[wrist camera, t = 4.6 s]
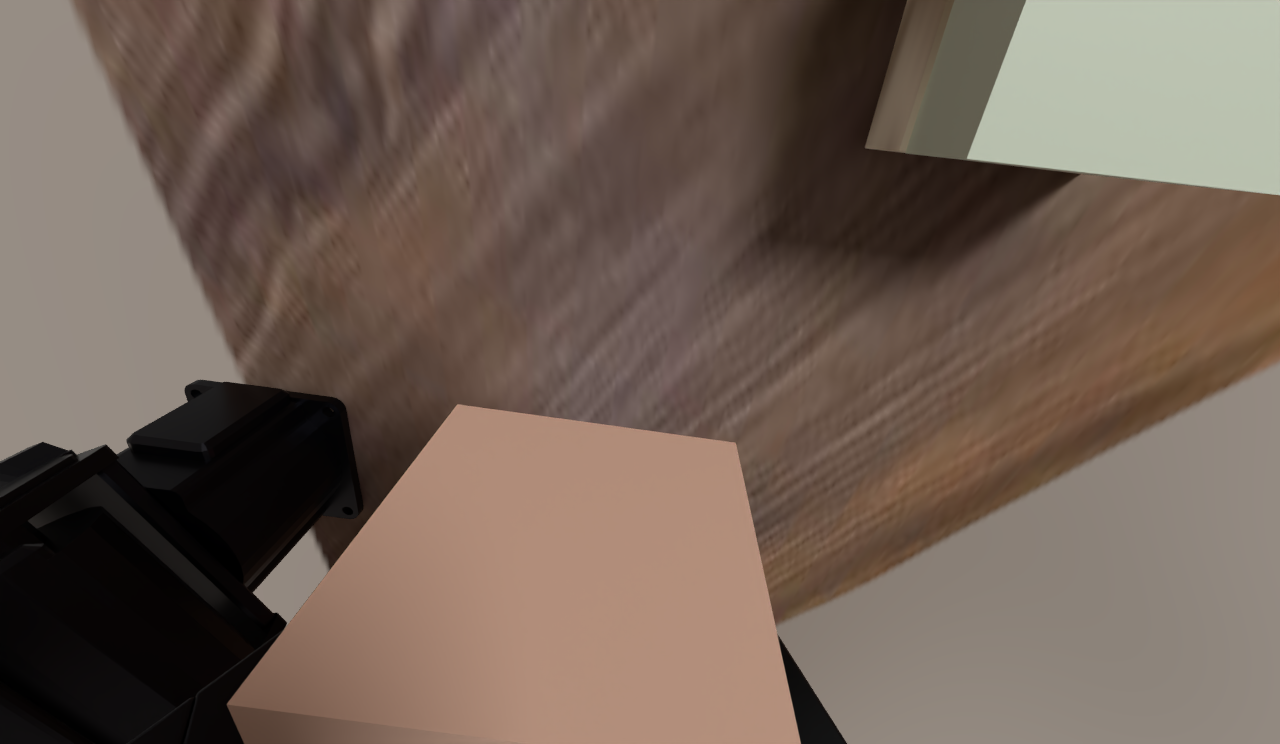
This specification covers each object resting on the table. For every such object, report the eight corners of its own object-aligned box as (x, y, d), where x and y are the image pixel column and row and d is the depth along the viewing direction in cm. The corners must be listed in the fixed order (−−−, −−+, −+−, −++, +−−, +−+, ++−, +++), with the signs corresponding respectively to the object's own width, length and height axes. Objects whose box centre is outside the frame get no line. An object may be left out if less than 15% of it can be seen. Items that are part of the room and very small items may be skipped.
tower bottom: (1070, 173, 16) (1152, 181, 13) (859, 147, 16) (899, 150, 13) (1204, -112, 13) (1349, -178, 10) (942, -144, 13) (1015, -218, 10)
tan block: (686, 623, 11) (700, 968, 6) (466, 594, 11) (325, 920, 6) (735, 443, 9) (808, 780, 4) (457, 404, 9) (226, 703, 4)
